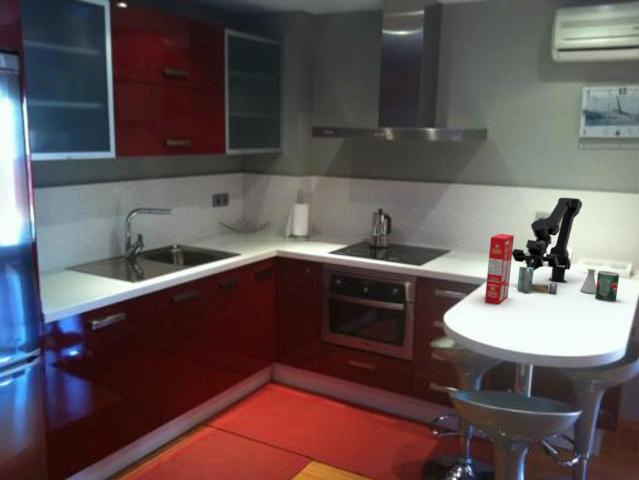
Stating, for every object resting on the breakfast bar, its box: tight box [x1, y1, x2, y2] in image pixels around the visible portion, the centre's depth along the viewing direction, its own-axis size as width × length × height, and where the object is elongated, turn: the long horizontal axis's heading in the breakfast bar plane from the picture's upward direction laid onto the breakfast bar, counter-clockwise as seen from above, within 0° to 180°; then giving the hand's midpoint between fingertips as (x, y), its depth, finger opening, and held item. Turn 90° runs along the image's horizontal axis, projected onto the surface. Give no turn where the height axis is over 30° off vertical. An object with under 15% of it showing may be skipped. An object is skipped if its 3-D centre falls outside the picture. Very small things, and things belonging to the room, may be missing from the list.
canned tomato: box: [594, 270, 620, 303], centre depth 243 cm, size 8×8×11 cm
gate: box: [516, 266, 550, 294], centre depth 250 cm, size 12×4×10 cm, turn 83°
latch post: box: [522, 269, 531, 295], centre depth 247 cm, size 2×2×10 cm
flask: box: [579, 268, 597, 295], centre depth 255 cm, size 7×7×10 cm
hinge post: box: [548, 283, 558, 295], centre depth 249 cm, size 3×3×4 cm
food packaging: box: [484, 233, 515, 305], centre depth 231 cm, size 15×5×25 cm, turn 150°
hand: (527, 273), depth 252 cm, fingers closed
